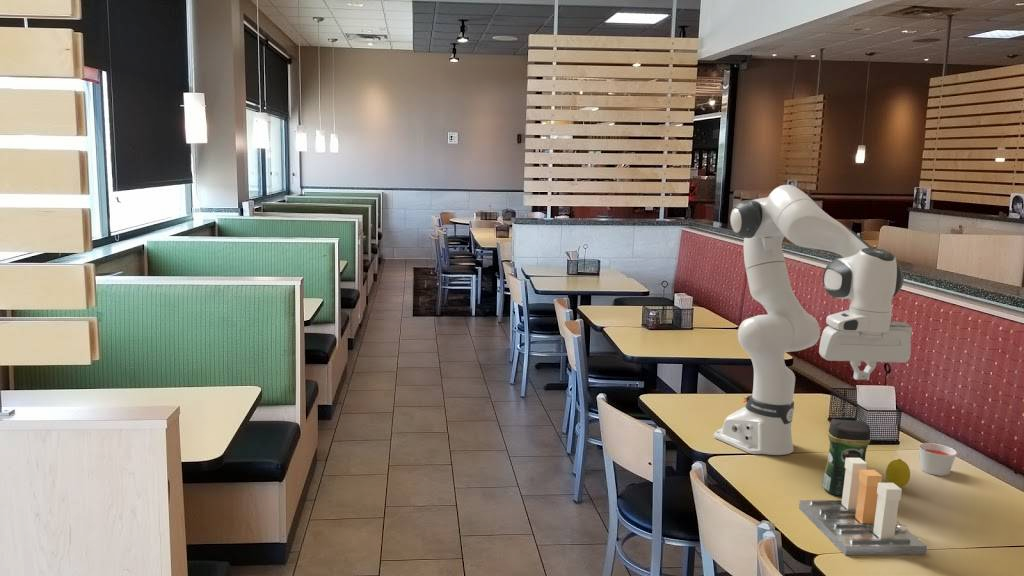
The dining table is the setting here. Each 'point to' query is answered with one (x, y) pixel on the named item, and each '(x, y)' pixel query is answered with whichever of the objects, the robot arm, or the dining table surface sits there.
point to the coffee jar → (844, 451)
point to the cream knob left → (852, 481)
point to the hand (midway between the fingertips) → (861, 379)
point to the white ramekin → (936, 458)
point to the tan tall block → (867, 495)
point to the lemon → (898, 473)
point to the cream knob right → (886, 510)
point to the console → (858, 531)
